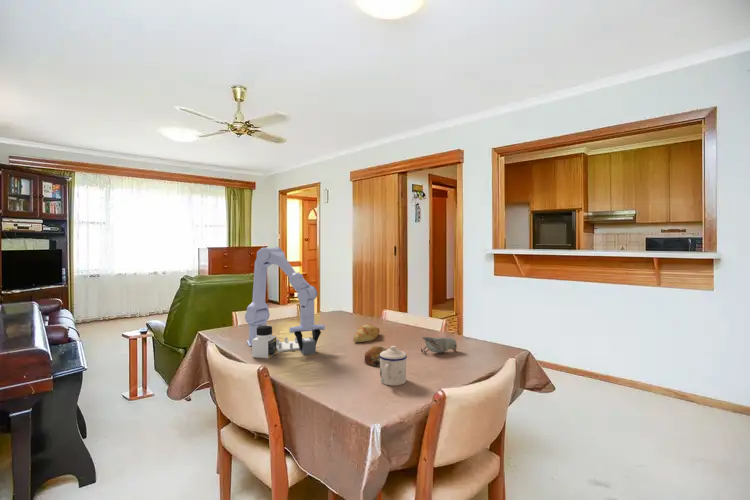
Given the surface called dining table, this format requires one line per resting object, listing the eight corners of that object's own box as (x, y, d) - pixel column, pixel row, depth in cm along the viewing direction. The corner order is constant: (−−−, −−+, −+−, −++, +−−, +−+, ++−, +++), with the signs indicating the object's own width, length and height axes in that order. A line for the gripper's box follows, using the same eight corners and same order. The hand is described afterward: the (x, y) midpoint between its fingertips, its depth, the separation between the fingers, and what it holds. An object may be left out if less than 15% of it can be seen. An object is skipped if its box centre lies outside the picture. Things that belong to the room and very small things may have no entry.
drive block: (299, 350, 165) (299, 338, 165) (310, 349, 167) (310, 337, 167) (303, 355, 159) (303, 342, 158) (315, 353, 161) (315, 341, 161)
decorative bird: (459, 353, 163) (459, 335, 163) (424, 357, 157) (424, 338, 157) (452, 349, 168) (453, 332, 168) (418, 353, 162) (418, 335, 162)
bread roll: (391, 370, 152) (394, 349, 155) (384, 366, 143) (387, 344, 146) (367, 367, 155) (370, 347, 158) (359, 363, 146) (362, 342, 149)
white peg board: (273, 344, 173) (273, 338, 173) (297, 342, 178) (297, 336, 178) (278, 352, 162) (278, 345, 162) (304, 349, 167) (304, 342, 167)
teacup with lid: (385, 374, 136) (385, 341, 136) (410, 378, 133) (410, 344, 132) (371, 387, 125) (371, 350, 125) (398, 391, 121) (398, 354, 121)
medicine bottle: (268, 358, 154) (268, 328, 153) (251, 357, 155) (251, 327, 155) (276, 353, 161) (276, 324, 160) (260, 352, 162) (260, 323, 162)
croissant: (359, 352, 175) (366, 337, 173) (343, 339, 179) (349, 324, 177) (382, 340, 193) (389, 327, 191) (366, 328, 197) (373, 315, 195)
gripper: (292, 319, 156) (292, 353, 156) (327, 316, 162) (327, 349, 162) (288, 315, 162) (288, 348, 163) (322, 313, 168) (322, 344, 169)
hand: (307, 348), depth 163 cm, fingers closed on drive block, 5 cm apart
